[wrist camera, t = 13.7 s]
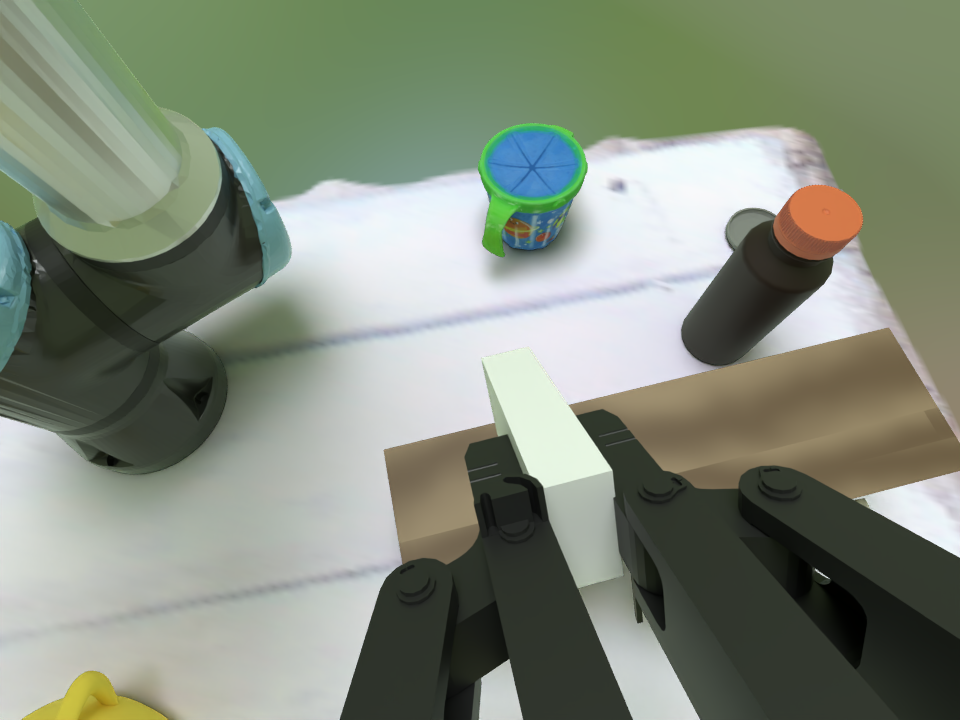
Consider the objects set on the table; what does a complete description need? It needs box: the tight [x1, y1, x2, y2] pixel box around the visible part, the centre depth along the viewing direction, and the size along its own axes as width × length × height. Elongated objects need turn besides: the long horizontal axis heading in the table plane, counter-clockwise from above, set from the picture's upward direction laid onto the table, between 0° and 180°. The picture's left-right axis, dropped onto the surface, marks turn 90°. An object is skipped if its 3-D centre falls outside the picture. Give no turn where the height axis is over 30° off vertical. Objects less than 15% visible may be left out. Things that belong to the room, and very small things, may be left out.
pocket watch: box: [726, 189, 843, 249], centre depth 53 cm, size 8×8×10 cm
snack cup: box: [478, 123, 588, 257], centre depth 55 cm, size 16×10×10 cm
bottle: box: [682, 185, 863, 365], centre depth 44 cm, size 7×7×20 cm
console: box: [384, 328, 960, 565], centre depth 40 cm, size 10×36×16 cm, turn 103°
